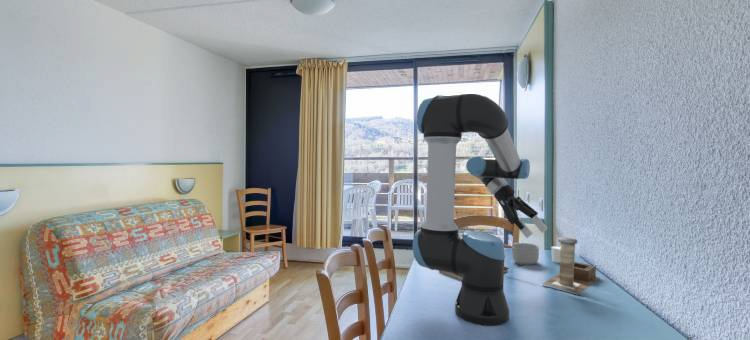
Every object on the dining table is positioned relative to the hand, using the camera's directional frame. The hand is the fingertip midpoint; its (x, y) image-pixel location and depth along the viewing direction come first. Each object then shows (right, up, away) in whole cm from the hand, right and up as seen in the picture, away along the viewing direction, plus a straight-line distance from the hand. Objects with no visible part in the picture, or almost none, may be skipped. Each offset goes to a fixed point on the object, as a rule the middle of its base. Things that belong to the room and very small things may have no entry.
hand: (537, 233), depth 133 cm
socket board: (+11, -18, -3) cm, 21 cm away
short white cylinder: (+19, -17, +21) cm, 33 cm away
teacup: (+4, -17, +22) cm, 28 cm away
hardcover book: (-21, -18, +9) cm, 29 cm away
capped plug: (+7, -17, -7) cm, 19 cm away
